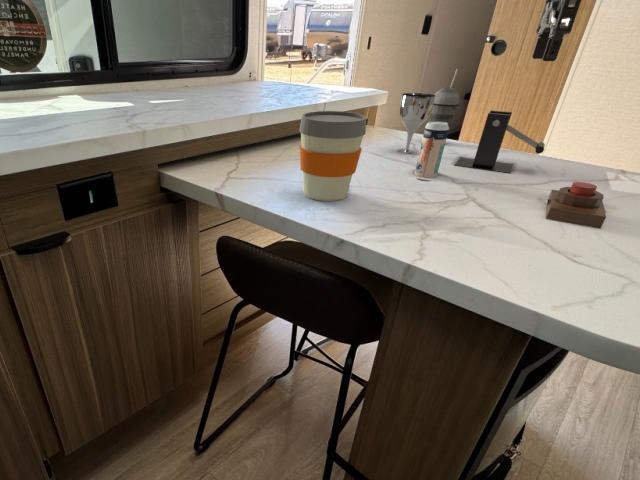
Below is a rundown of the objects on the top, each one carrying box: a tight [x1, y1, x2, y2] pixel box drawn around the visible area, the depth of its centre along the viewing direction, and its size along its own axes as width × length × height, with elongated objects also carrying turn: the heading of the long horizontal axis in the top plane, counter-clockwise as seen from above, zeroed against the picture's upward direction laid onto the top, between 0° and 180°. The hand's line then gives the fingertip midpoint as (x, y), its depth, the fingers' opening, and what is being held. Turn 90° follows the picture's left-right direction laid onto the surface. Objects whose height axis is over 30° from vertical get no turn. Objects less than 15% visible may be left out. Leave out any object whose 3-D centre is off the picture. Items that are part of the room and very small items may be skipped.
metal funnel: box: [399, 92, 436, 155], centre depth 107 cm, size 8×8×15 cm
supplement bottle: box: [414, 121, 450, 182], centre depth 92 cm, size 5×5×12 cm
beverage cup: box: [428, 68, 460, 128], centre depth 115 cm, size 7×7×20 cm
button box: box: [545, 186, 607, 229], centre depth 76 cm, size 12×8×4 cm, turn 147°
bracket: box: [453, 110, 514, 174], centre depth 98 cm, size 12×9×13 cm
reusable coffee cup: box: [299, 110, 367, 202], centre depth 82 cm, size 13×13×15 cm
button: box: [569, 181, 598, 196], centre depth 75 cm, size 4×4×2 cm
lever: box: [497, 113, 546, 154], centre depth 94 cm, size 13×5×2 cm, turn 57°
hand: (542, 59), depth 83 cm, fingers open, 8 cm apart
